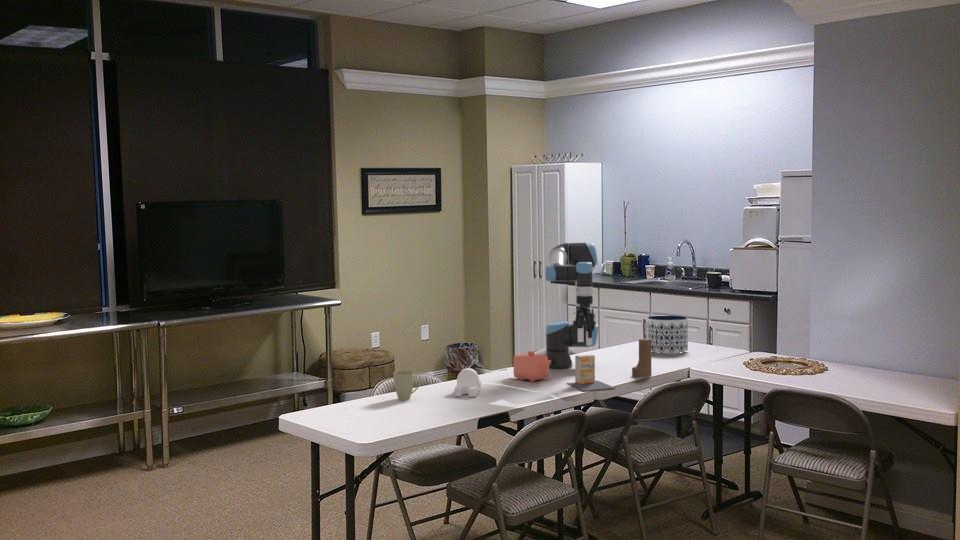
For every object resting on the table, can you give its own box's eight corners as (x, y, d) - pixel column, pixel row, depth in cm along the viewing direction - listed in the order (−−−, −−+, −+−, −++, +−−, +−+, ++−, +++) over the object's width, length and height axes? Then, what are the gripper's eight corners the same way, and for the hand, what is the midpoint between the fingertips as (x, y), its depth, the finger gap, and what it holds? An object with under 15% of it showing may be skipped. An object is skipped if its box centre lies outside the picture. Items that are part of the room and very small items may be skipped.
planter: (647, 356, 481) (647, 320, 480) (646, 349, 503) (646, 315, 502) (689, 356, 477) (689, 320, 476) (686, 350, 499) (686, 315, 498)
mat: (566, 384, 407) (566, 383, 407) (597, 381, 412) (597, 380, 412) (583, 391, 390) (583, 390, 390) (615, 388, 395) (615, 387, 395)
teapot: (558, 381, 414) (558, 352, 413) (541, 385, 405) (541, 355, 404) (523, 376, 429) (522, 347, 428) (506, 379, 420) (506, 351, 419)
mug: (408, 402, 373) (407, 375, 372) (389, 400, 378) (389, 373, 377) (422, 398, 382) (422, 371, 381) (404, 395, 387) (404, 369, 386)
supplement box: (580, 384, 403) (580, 356, 402) (574, 382, 407) (574, 355, 406) (595, 382, 406) (595, 355, 405) (589, 381, 411) (589, 353, 410)
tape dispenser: (454, 396, 386) (453, 372, 385) (461, 388, 403) (460, 365, 403) (475, 396, 384) (475, 372, 383) (481, 388, 402) (481, 365, 401)
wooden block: (638, 378, 419) (638, 341, 418) (631, 376, 423) (631, 340, 421) (651, 376, 424) (651, 339, 423) (645, 374, 428) (645, 338, 426)
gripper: (567, 293, 413) (568, 340, 414) (587, 297, 392) (587, 347, 394) (582, 293, 415) (582, 339, 417) (602, 297, 395) (602, 346, 396)
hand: (584, 343), depth 405 cm, fingers open, 9 cm apart
